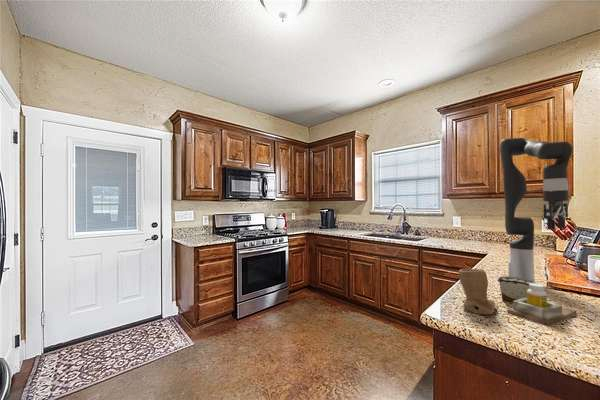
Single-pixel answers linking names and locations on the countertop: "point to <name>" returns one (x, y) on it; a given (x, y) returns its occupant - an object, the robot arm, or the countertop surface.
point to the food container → (513, 288)
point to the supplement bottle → (537, 295)
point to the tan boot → (476, 291)
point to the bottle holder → (541, 312)
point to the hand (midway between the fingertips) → (556, 228)
